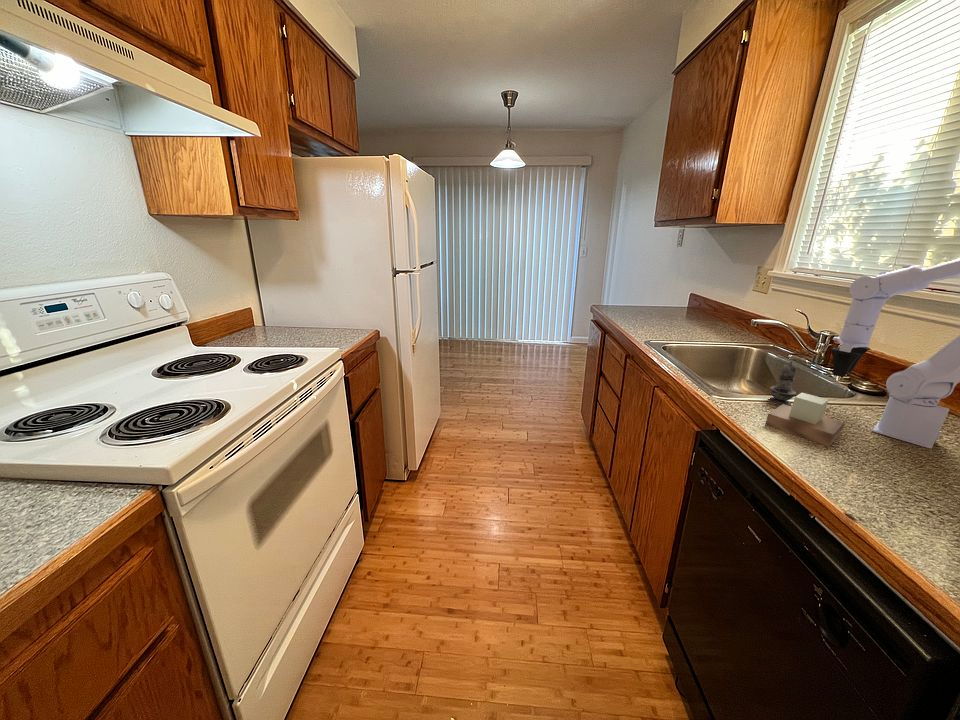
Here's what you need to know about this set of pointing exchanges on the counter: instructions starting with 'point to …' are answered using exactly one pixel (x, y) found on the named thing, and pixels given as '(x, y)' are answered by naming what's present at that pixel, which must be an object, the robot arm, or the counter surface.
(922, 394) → the robot arm
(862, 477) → the counter surface
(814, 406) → the sage block
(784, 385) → the grey stone chess piece
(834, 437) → the walnut block
